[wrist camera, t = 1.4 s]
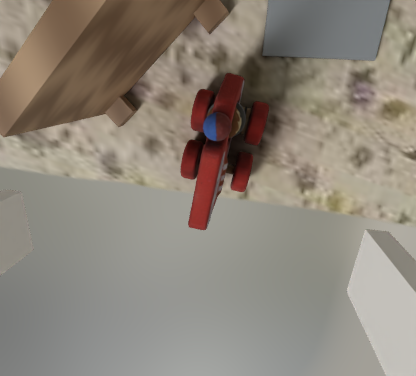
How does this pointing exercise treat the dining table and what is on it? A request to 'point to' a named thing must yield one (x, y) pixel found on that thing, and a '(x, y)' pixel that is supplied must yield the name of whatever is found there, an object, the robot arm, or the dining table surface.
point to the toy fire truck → (220, 145)
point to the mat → (324, 28)
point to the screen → (92, 58)
